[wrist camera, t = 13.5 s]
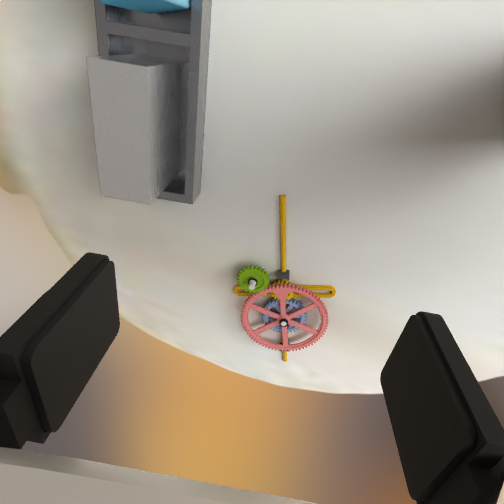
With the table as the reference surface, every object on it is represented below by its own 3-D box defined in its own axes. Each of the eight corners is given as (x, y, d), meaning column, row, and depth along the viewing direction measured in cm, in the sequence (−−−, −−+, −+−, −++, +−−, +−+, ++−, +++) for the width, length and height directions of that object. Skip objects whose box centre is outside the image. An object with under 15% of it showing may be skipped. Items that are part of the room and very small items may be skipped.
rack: (224, -207, 26) (186, -344, 17) (200, 192, 44) (175, 231, 34) (90, -228, 26) (-19, -374, 17) (119, 178, 44) (73, 213, 35)
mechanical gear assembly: (243, 356, 59) (329, 356, 58) (240, 376, 56) (333, 376, 54) (223, 195, 44) (340, 190, 42) (218, 208, 40) (346, 203, 39)
